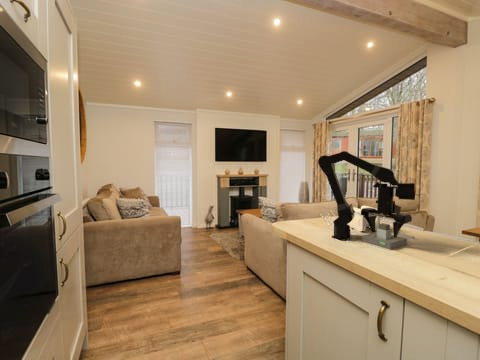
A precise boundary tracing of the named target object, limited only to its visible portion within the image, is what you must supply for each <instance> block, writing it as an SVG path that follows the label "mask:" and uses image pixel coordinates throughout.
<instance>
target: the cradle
mask: <svg viewBox="0 0 480 360" xmlns="http://www.w3.org/2000/svg"><path fill="white" fill-rule="evenodd" d="M397 236H398V237H402V238H406V239H407V242H410V241H413V240H415V239H416V236H415V235H411V234H406V233H401V232H399V233H398V235H397Z"/></svg>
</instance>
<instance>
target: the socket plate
mask: <svg viewBox="0 0 480 360" xmlns="http://www.w3.org/2000/svg"><path fill="white" fill-rule="evenodd" d="M361 238H362V239H361V242H362V243H363V244H366V245H367V244H368V245H371V246H373V247H375V248H376V247H378V248H379V249H381V250H382V249H383V250H386V251H387V250H388V251H391V250H394V249H397V248H400V247H402V246H407V245H408V244H407V242H408V241H407V239H406V238H402V237H398V236H397V237H396V238H394V235H393V234H391V239H388V240H385V239H381V238H378V237H377V231H375V232H372V233H368V234H365V235H362V237H361Z"/></svg>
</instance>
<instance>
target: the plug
mask: <svg viewBox="0 0 480 360" xmlns="http://www.w3.org/2000/svg"><path fill="white" fill-rule="evenodd" d="M390 227H391V225H390V224H389V223H384V222H382V223H380V224H379V228H377V231H376V232H377V237H378V238H381V239H385V240H388V239H391V235H393V233H392V230H393V228H390Z"/></svg>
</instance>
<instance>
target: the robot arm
mask: <svg viewBox="0 0 480 360" xmlns="http://www.w3.org/2000/svg"><path fill="white" fill-rule="evenodd" d="M343 161H344V162H347V163H349V164H351V165H353V166H355V167H357V168H359V169H361V170H363V171H365V172H367V173H369V174H371V175H372V176H373V177H374V178H376V179H377V180H378V181H376V183H375V184H373V186H372V188H377V200H375V204H377V205H376V206H377V207H376V209H377V210H376V209H374V208H375V207H373V208H363V209H362V210H361V215H364V216H363V217H365V218H366V220H367V222H368V224H369V226H370V228H371V229H370V230H371V232H372V233H376V231H375V220H376V217H377V216H380V217H384V218H388V219H393V220H394V221H393V222H392V230H393V233H392V235H394V238H396V237H397V235H398V233H400V230H401V229H402V228H403V226H404V225H405V224H408V223H411V222H413V216H412V215H411V214H409V213H404V212H401V208H402V207H401V206H400V205H398V204H396V201H395V200H394V195H395V197H396V198H398V200H406V201H407V200H409V201H415V200H416V190H415V189H416V187H415V186H416V185H415V184H416V183H414V182H409V183H408V182H399V180H398V179H397V178H395V173H394V171H393V170H392V169H390V168H387V167H384V166H380V165H377V164H373V163H372V162H369V161H367V160H365V159H363V158H360V157H358V156H356V155H355V154H352V153H350V152H348V151H345V150H343V151H341V152H338V153H333V154H330V155H324V154H323V155H321V156H319V158H318V161H317V164H318V166H319V167H320V170H321V171H322V172H323V173H324V175H325V176H326V179H327V181H328V184H329V187H330V190H331V192H332V194H333V198H334V199H335V203H336V208H337V209H336V210H337V216H338V217H336V218H335V219H334V220H333V222H332V223H333V235H331V238H334V239H337V240H339V241H347V240H350V239H352V238H353V237H352V236H351V228H350V226H349V225H348V223H350V222H351V221H352V220H353V218H354V213H355V211H354V209H353V207H354V205H353V203H350V204H349V203H348V201H347V199H346V197H345V195H344V193H343V192H344V191H343V189H342V186H341V183H340V181H339V179H338V176H337V173H336V165H335V164H337V163H341V162H343ZM379 181H380V182H382V183H380V182H379ZM389 184H390V185H391V186H390V185H389ZM394 189H395V190H394ZM394 191H395V193H394ZM376 215H377V216H376Z"/></svg>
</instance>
